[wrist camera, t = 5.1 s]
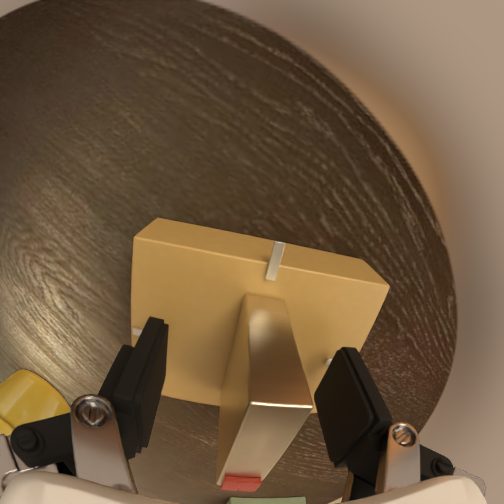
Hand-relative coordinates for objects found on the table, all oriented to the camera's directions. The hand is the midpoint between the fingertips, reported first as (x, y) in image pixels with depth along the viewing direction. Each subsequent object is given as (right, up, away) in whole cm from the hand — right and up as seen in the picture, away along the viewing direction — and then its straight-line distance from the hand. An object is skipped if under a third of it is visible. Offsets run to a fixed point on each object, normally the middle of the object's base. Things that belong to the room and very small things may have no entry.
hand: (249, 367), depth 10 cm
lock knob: (0, 0, +1) cm, 1 cm away
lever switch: (0, +1, +4) cm, 4 cm away
